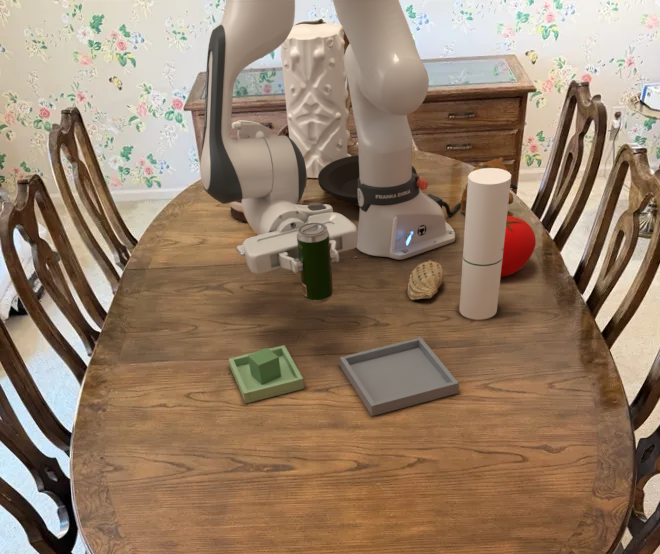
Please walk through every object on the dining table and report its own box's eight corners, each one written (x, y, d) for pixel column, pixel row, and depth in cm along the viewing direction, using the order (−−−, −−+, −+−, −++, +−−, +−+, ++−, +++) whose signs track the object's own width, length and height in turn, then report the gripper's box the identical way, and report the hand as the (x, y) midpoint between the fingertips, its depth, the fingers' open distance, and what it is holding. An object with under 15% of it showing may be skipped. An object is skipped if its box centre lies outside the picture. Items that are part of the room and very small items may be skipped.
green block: (270, 366, 129) (267, 347, 127) (281, 376, 127) (278, 356, 124) (250, 374, 128) (247, 355, 125) (261, 384, 126) (258, 365, 123)
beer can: (313, 307, 124) (307, 239, 115) (297, 295, 127) (289, 228, 118) (339, 297, 125) (335, 229, 117) (322, 285, 129) (317, 219, 120)
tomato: (465, 285, 146) (468, 235, 139) (460, 256, 155) (463, 207, 148) (536, 282, 145) (544, 232, 137) (527, 253, 154) (534, 204, 146)
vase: (284, 180, 192) (269, 39, 169) (296, 157, 203) (283, 22, 180) (347, 179, 189) (340, 36, 166) (356, 156, 200) (350, 19, 177)
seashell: (448, 309, 146) (438, 268, 149) (452, 290, 140) (442, 248, 143) (410, 314, 145) (401, 273, 148) (413, 295, 139) (404, 253, 143)
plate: (428, 214, 171) (429, 190, 167) (329, 228, 169) (328, 204, 165) (401, 171, 190) (401, 149, 186) (312, 183, 189) (310, 161, 185)
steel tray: (420, 346, 132) (420, 336, 130) (458, 393, 121) (459, 382, 119) (340, 367, 129) (339, 357, 127) (371, 416, 118) (371, 406, 117)
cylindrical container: (499, 302, 140) (514, 169, 123) (493, 321, 136) (507, 185, 118) (463, 298, 142) (472, 166, 125) (455, 317, 138) (464, 182, 120)
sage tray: (285, 354, 133) (284, 344, 131) (304, 388, 125) (303, 378, 123) (230, 368, 131) (228, 358, 129) (245, 403, 123) (243, 393, 122)
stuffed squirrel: (484, 233, 162) (489, 172, 152) (446, 213, 171) (449, 154, 161) (519, 221, 165) (526, 161, 155) (480, 202, 174) (484, 143, 164)
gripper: (230, 228, 125) (256, 260, 116) (337, 201, 130) (370, 230, 121) (236, 262, 130) (262, 296, 121) (339, 235, 135) (371, 266, 126)
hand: (317, 263), depth 121 cm, fingers closed on beer can, 5 cm apart
